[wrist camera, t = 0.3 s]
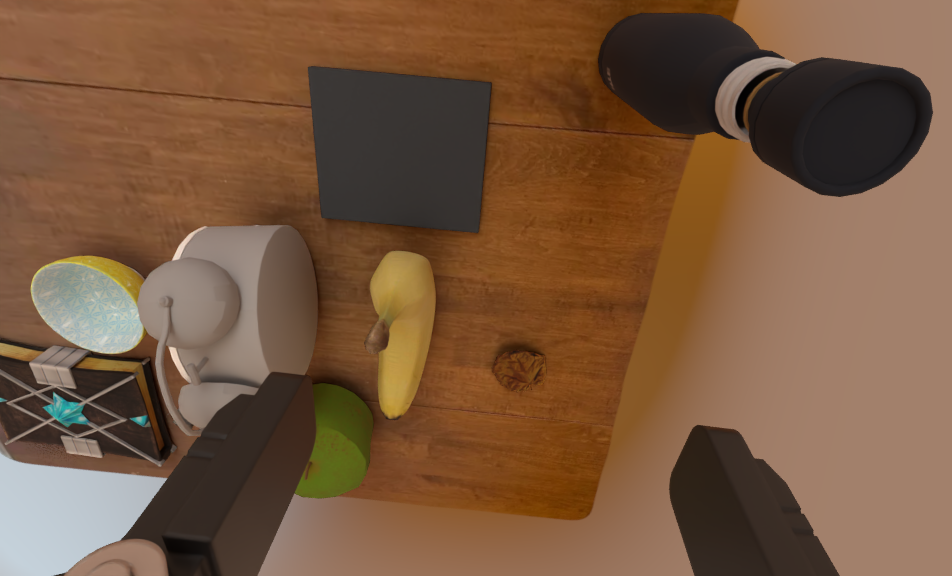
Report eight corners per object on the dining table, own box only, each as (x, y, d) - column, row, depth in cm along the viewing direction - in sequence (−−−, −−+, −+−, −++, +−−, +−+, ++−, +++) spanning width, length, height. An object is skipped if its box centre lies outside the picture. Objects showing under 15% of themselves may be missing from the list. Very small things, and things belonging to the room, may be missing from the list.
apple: (398, 394, 61) (376, 467, 51) (363, 451, 67) (338, 526, 57) (305, 354, 59) (264, 422, 49) (278, 416, 65) (236, 488, 55)
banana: (425, 386, 60) (390, 536, 43) (379, 378, 60) (326, 526, 43) (450, 220, 49) (417, 333, 32) (394, 210, 49) (329, 318, 31)
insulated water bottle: (693, 43, 40) (1037, 103, 14) (639, 112, 43) (840, 268, 17) (633, -5, 38) (890, -41, 12) (582, 69, 41) (703, 166, 15)
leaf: (494, 386, 60) (495, 396, 58) (488, 346, 56) (489, 356, 54) (546, 379, 59) (548, 390, 58) (543, 339, 55) (546, 349, 54)
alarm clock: (232, 192, 49) (55, 307, 30) (315, 193, 48) (189, 310, 29) (269, 325, 57) (149, 482, 38) (340, 327, 57) (254, 487, 38)
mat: (311, 65, 42) (307, 67, 42) (491, 82, 42) (491, 83, 41) (324, 214, 49) (321, 218, 49) (479, 229, 49) (478, 233, 48)
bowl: (198, 293, 55) (165, 323, 50) (141, 338, 59) (105, 370, 54) (113, 217, 51) (67, 241, 46) (58, 270, 55) (9, 298, 50)
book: (28, 426, 69) (-5, 453, 65) (-17, 331, 60) (-58, 355, 56) (178, 448, 69) (156, 477, 65) (154, 356, 61) (127, 382, 56)
